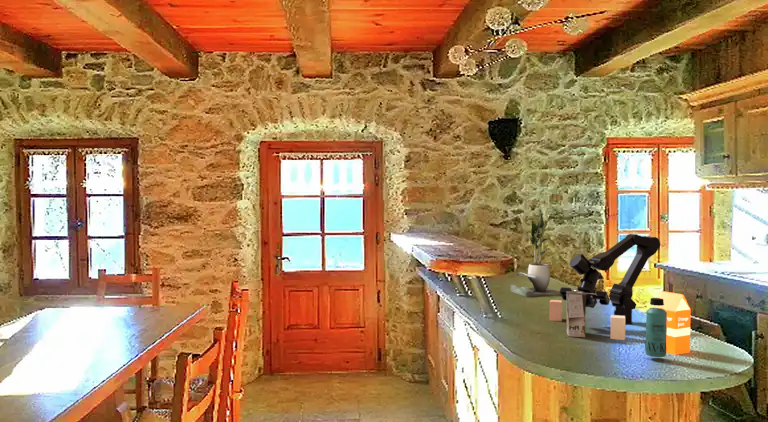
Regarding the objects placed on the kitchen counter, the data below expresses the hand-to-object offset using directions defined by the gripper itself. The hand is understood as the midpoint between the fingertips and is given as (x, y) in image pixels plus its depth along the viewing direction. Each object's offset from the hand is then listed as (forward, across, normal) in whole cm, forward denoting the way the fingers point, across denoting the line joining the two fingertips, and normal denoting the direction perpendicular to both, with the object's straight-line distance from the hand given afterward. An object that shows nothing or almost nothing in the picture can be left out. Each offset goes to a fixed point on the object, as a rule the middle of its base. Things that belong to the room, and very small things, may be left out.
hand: (578, 312), depth 250 cm
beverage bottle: (+23, -36, +13) cm, 45 cm away
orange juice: (+12, -37, +2) cm, 39 cm away
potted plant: (-47, +52, -57) cm, 90 cm away
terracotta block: (-5, +16, -15) cm, 22 cm away
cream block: (+7, -16, -3) cm, 18 cm away
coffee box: (+10, -2, 0) cm, 10 cm away
